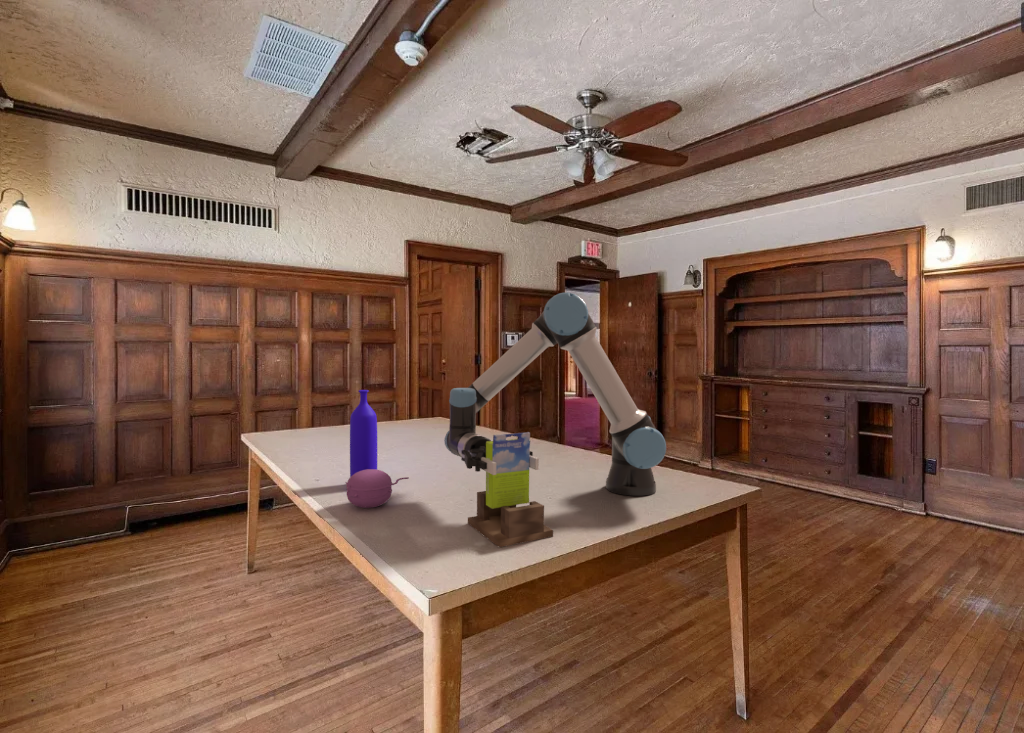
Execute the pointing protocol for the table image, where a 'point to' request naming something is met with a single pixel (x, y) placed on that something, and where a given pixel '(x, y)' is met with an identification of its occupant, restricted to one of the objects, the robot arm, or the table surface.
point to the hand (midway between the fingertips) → (516, 466)
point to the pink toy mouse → (370, 488)
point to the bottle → (363, 436)
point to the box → (508, 470)
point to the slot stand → (510, 522)
